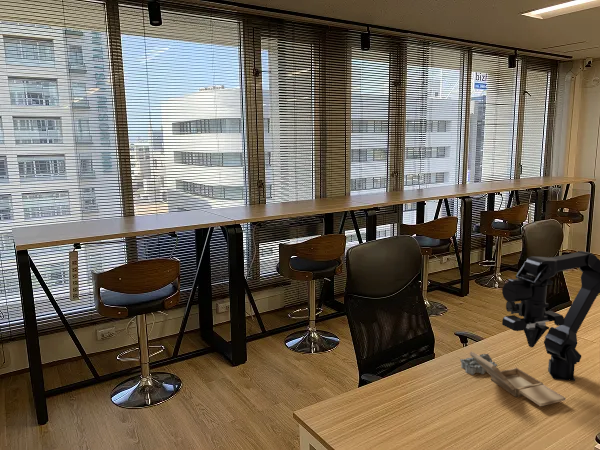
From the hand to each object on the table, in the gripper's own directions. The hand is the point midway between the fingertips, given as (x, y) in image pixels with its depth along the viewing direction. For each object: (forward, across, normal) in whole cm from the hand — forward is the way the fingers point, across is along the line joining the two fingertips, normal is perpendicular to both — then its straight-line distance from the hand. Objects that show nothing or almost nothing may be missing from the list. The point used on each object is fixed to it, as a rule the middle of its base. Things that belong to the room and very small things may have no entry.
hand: (531, 346), depth 149 cm
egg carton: (+13, +9, -13) cm, 20 cm away
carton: (+12, +4, +4) cm, 14 cm away
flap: (+9, +10, 0) cm, 13 cm away
